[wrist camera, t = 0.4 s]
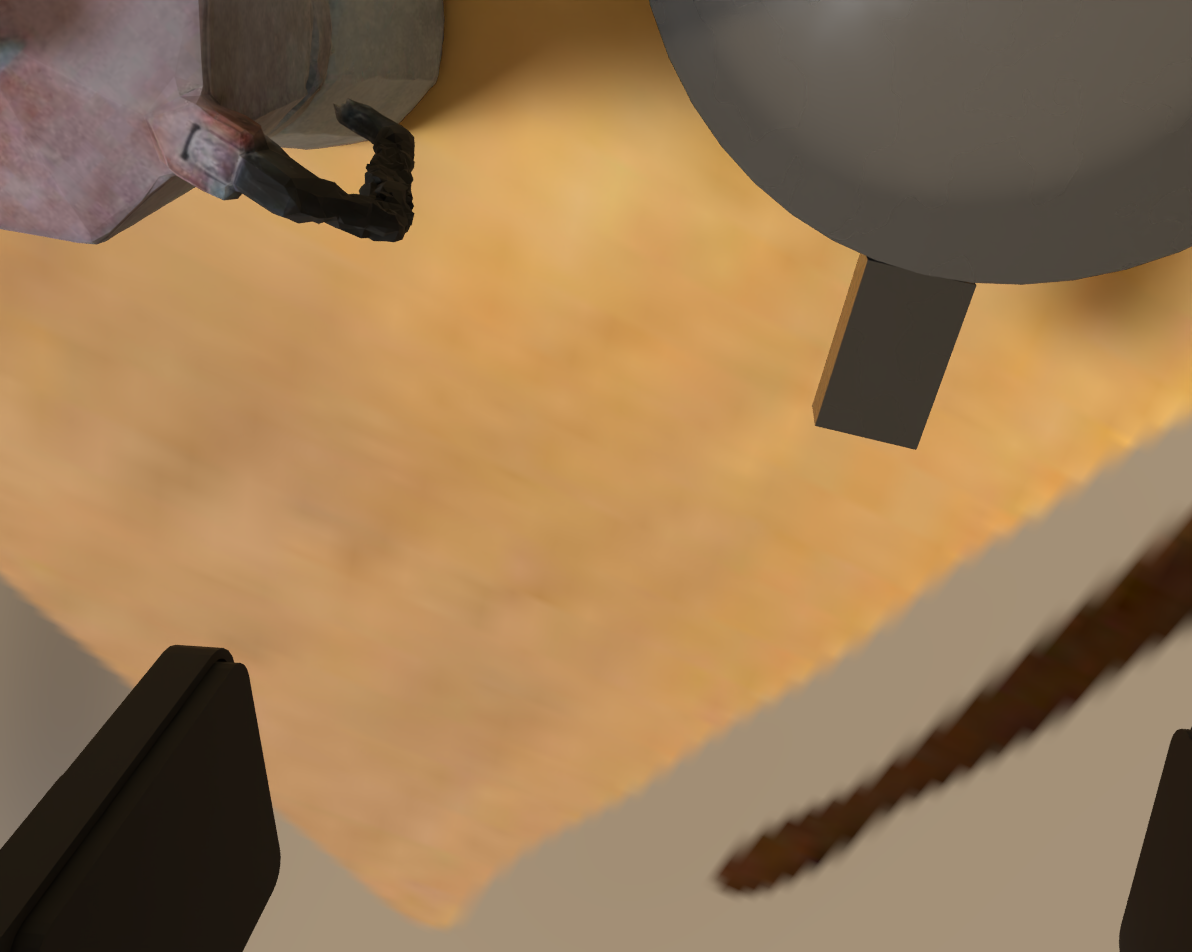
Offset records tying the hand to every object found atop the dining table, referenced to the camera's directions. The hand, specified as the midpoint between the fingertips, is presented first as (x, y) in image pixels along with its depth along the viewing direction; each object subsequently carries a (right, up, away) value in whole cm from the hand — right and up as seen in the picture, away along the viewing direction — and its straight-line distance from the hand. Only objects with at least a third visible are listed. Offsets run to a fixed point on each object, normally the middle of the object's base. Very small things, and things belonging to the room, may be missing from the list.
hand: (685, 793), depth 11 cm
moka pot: (-10, +19, +27) cm, 35 cm away
